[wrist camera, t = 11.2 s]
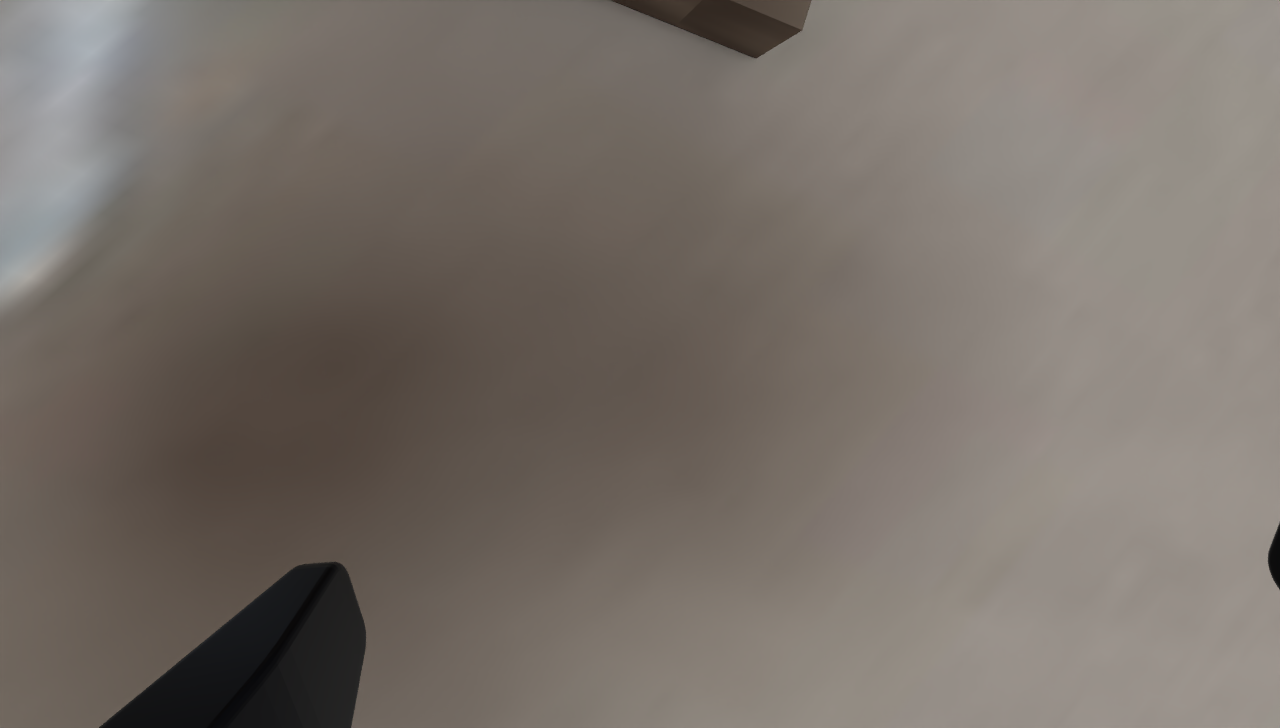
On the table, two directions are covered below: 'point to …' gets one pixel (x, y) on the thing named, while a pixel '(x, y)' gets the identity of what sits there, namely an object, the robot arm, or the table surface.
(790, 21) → the brown holder board
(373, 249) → the table surface
